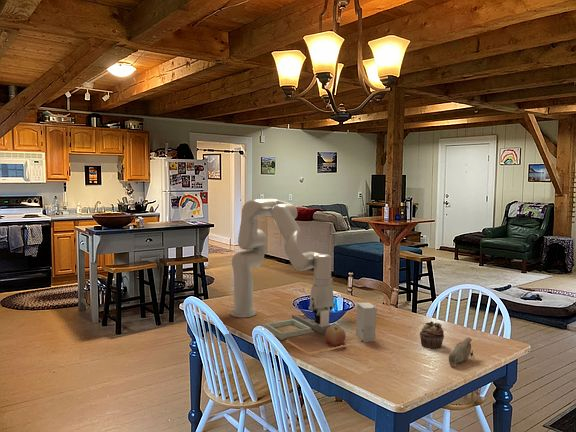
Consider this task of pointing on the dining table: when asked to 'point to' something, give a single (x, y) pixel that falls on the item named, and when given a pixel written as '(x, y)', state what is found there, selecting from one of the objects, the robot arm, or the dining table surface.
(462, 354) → the decorative bird
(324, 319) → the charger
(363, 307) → the skincare box
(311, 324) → the power strip
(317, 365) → the dining table surface
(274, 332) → the green square frame
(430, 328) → the cupcake
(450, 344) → the dining table surface
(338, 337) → the fruit
